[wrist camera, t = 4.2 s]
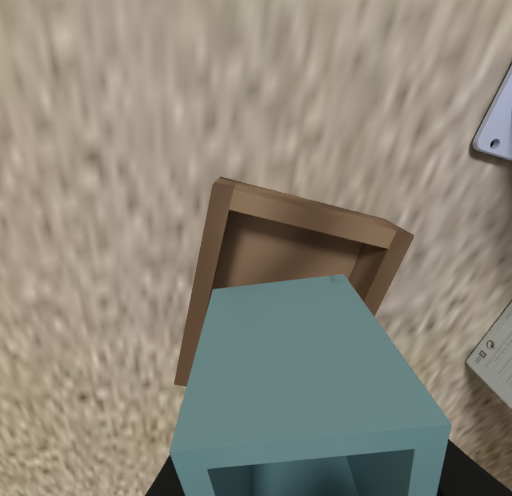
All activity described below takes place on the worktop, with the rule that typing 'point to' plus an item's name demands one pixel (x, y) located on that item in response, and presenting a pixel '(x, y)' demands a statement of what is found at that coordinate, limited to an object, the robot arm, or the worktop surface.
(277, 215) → the walnut crate
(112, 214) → the worktop surface
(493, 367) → the supplement box
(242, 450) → the teal crate
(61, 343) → the worktop surface
